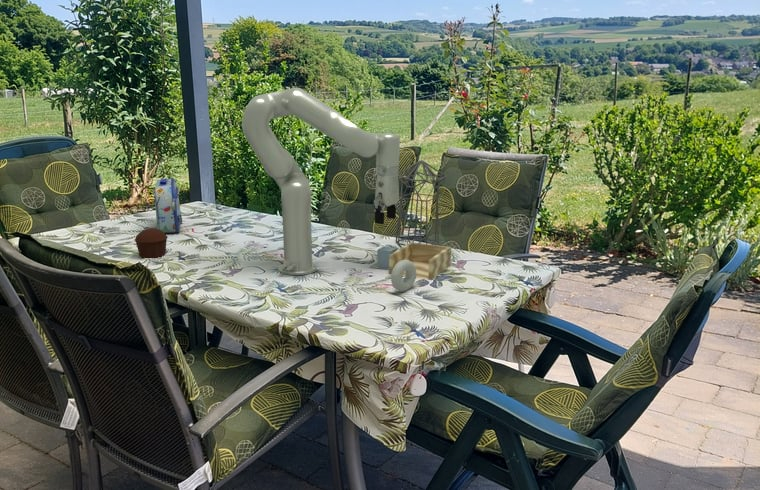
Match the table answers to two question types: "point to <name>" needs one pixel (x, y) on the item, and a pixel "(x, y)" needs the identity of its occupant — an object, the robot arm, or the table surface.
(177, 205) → the lunch box
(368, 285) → the table surface
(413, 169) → the geometric lantern
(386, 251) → the block
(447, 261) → the box
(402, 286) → the donut
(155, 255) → the muffin
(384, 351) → the table surface
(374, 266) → the coaster
